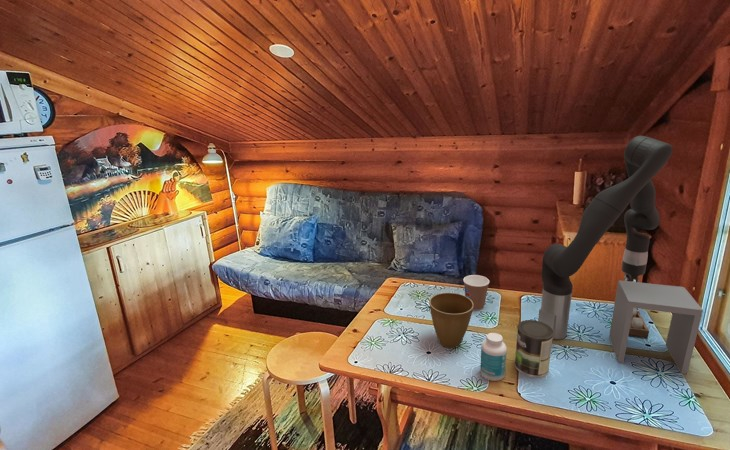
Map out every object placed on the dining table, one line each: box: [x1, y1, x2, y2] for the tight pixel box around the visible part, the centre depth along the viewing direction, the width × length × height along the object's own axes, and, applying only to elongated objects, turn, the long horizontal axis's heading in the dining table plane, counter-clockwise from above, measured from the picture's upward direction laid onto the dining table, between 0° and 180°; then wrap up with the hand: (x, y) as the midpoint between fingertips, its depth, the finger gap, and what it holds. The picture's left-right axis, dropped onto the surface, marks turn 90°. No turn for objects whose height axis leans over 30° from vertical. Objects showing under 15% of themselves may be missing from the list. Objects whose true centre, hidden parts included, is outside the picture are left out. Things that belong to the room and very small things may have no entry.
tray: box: [628, 308, 650, 340], centre depth 140 cm, size 14×6×5 cm, turn 158°
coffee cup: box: [463, 274, 490, 311], centre depth 159 cm, size 10×10×12 cm
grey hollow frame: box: [608, 279, 704, 375], centre depth 123 cm, size 15×18×22 cm
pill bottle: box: [479, 332, 508, 382], centre depth 119 cm, size 8×7×14 cm
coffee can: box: [514, 319, 554, 378], centre depth 121 cm, size 10×10×14 cm
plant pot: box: [429, 292, 474, 349], centre depth 135 cm, size 15×15×16 cm
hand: (628, 301), depth 151 cm, fingers closed
